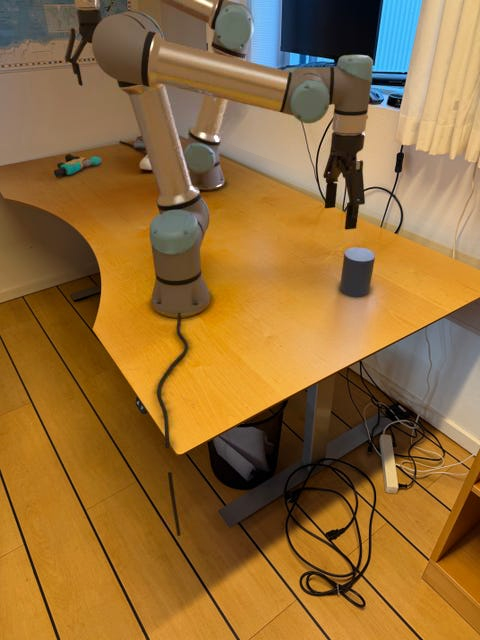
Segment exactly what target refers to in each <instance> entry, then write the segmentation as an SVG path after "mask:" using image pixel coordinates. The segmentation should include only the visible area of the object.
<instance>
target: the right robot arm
mask: <svg viewBox="0 0 480 640" xmlns="http://www.w3.org/2000/svg"><path fill="white" fill-rule="evenodd" d="M157 1H158V2H161V3H163V4H165V5H167V6H169V7H170V8H174V9H175V10H178V11H180V12H182V13H184V14H186V15H188V16H191V17H193V18H195V19H197V20H199V21H201V22H204V23H206V24H207V25H208V27H209V29H211V30H213V31H214V33H213V37H212V41H211V44H210V47H211V50H212V53H215V54H219V55H224V56H228V57H232V58H236V59H240V60H244V61H245V59H246V56H247V54H248V49H249V46H250V43H251V40H252V38H253V35H254V31H255V21H254V16H253V14H252V12H251V10H250V9H249V8H248V7H247V6H246V5H244V4H242V3H239V2H235V1H231V0H157ZM74 5H75V8H76V9H77V10H76V16H77V22H78V28H73V27H69V39H68V42H67V46H66V47H67V48H66V51H65V56H64V61H65V62H67V63H70V64H71V68H72V73H73V74H74V75H76V77H77V83H78V85H79V86H84V85H83V80H82V74H81V68H80V64H79V62H78V60H79V58H80V56H81V54H82V53H83V50H84V48H85V46H86V45H87V44H92V38H93V34H94V31H95V29H96V27H97V25H98V24H99V23H100V22H101V21H102V20H103V14H102V10H101V9H99V8H101V4H100V0H74ZM78 35H80V36H81V39H80V40H79V43H78V46H76V49H75V50H74V46H75V42H76V37H77V36H78ZM73 50H74V53H73ZM72 54H73V55H72ZM202 95H203V96H202V99H201V103H200V107H199V111H198V116H197V118H196V123H195V125H192V126H190V127H189V128H187V129H188V130H187V131H188V132H187V136H188V137H187V141H186V145H185V147H184V149H183V154H184V158H185V161H186V165H187V169H188V173H189V176H190V180H191V184H192V185H193V186H195V187H197V188H198V189H199V191H200V192H211V191H216V190H220V189H222V188H223V187H225V185H226V181H225V176H224V174H223V171H222V168H221V164H220V146H221V142H222V137H221V135H220V130H221V127H222V124H223V120H224V117H225V113H226V110H227V107H228V102H229V100H227V99H222V98H218V97H214V96H210V95H205V94H202ZM119 144H124V145H127V146H129V147H132V148H134V146H133V145H134V144H131V143H129V142H127V141H122V140H119ZM136 150H138V151H140V152H141V153H142V154H144V155H145V156H146V155H147V152H146V151H145V150H144V149H140V148H137V149H136Z"/></svg>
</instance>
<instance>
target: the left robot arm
mask: <svg viewBox="0 0 480 640" xmlns="http://www.w3.org/2000/svg"><path fill="white" fill-rule="evenodd" d="M91 48H92V53H93V57H94V59H95V62H96V63H97V65H98V66H99V68H100V69H101V70H102V71H103V73H105V74H106V75H107V76H108V77H110V78H112V79H114V80H116V83H117V86H118V88H119V89H120V90H121V91H122V92H124V93H126V94H127V95H128V97H129V101H130V105H131V107H132V110H133V113H134V116H135V120H136V123H137V126H138V129H139V133H140V136H142V139H143V142H144V145H145V148H146V149H145V152H146V153H147V155H148V158H149V161H150V164H151V168H152V170H151V171H152V174H153V177H154V180H155V183H156V186H157V189H158V193H159V194H158V196H157V198H156V200H155V203H156V206H157V209H158V212H159V213H158V214H157V215H156V216H154V218H153V219H151V221H150V224H149V234H148V235H149V236H148V237H149V241H150V245H151V253H152V260H153V261H152V262H153V268H154V274H155V275H154V276H155V281H154V284H153V290H152V294H151V305H152V308H153V310H154V311H155V312H156V313H157V314H159V315H160V316H163V317H167V318H171V319H177V321H176V322H177V323H176V334H177V336H178V337H179V338H180V340H181V341H182V343H183V344H184V348H183V351H182V352H181V354H179V356H178V357H177V358H175V359H174V360H173V362H171V364H170V365H169V366H168V368H167V369H166V371H165V373H164V374H163V375H162V377H161V378H160V380H159V382H158V385H157V389H156V390H157V391H156V397H157V400H158V403H159V406H160V408H161V411H162V414H163V421H164V442H165V448H166V449H170V445H171V444H170V433H169V431H170V428H169V417H168V416H169V415H168V411H167V408H166V405H165V403H164V401H163V398H162V393H161V392H162V388H163V387H162V386H163V384H164V382H165V380H166V379H167V377H168V376H169V374H170V373H171V371H172V370H173V368H174V367H175V366H176V365H177V364H178V363H179V362H180V361H181V360H182V359H183V358H184V357H185V356H186V354H187V352H188V348H189V344H188V341H187V339H186V338H185V337H184V336H183V334H182V333H181V320H182V319H183V318H185V319H186V318H190V317H194V316H196V315H199V314H201V313H202V312H204V311H205V310H207V308H208V307H209V306H210V303H211V294H210V290H209V288H208V286H207V284H206V281H205V278H204V277H203V275H202V262H201V261H202V259H201V247H202V244H203V240H204V238H205V235H206V232H207V230H208V227H209V224H210V210H209V206H208V205H207V203H206V201H205V200H204V199H203V197H202V196H201V191H199V189H198V188H197V187H195V186H193V185H192V184H191V180H190V176H189V169H188V168H187V165H186V161H185V158H184V154H183V152H184V149H183V147H182V143H181V140H180V135H179V133H178V129H177V125H176V122H175V121H176V120H175V117H174V113H173V110H172V106H171V102H170V100H169V99H170V98H169V96H168V91H167V88H166V86H167V87H171V88H176V89H179V90H184V91H189V92H192V93H196V94H197V93H198V94H201V95H204V94H205V95H210V96H214V97H218V98H222V99H227V100H228V101H231V102H234V103H239V104H244V105H247V106H253V107H257V108H261V109H265V110H269V111H274V112H277V113H282V114H284V115H289V116H291V117H292V116H293V117H294V118H295V119H296V120H298V121H299V122H301V123H304V124H308V125H309V124H314V123H317V122H319V121H320V120H322V119H323V118H324V117H325V115H326V114H327V112H328V110H329V108H330V106H331V105H334V107H333V115H332V127H331V129H332V131H333V132H332V133H331V140H330V150H329V155H328V159H327V161H326V165H325V169H324V172H323V175H322V176H323V178H324V179H325V183H326V188H325V198H324V209H334V208H336V201H337V192H338V182H339V177H340V175H341V176H342V178H343V179H344V180H345V181H344V182H345V184H346V191H347V197H348V202H347V203H346V211H345V212H346V213H345V223H344V230H346V231H347V230H348V231H349V230H356V229H357V224H358V218H359V217H358V216H359V209H360V206H362V205H365V203H366V199H365V198H366V197H365V184H364V171H363V170H364V160H362V159H361V160H359V159H358V155H357V154H358V153H359V152H361V151H362V150H363V149H364V146H365V145H364V144H365V136H366V134H365V131H366V126H367V120H368V119H369V116H368V111H369V106H370V105H369V103H370V96H371V91H372V90H371V89H372V83H373V70H374V69H373V67H374V60H373V59H372V58H371V57H370V56H369V55H364V54H348V55H347V54H345V55H342V56H340V57H339V58H338V60H337V64H336V66H330V67H329V66H328V67H327V66H324V67H321V66H320V67H319V66H318V67H317V66H316V67H315V66H314V67H313V66H311V67H310V66H309V67H307V66H305V67H303V66H295V67H287V68H284V69H280V68H275V67H272V66H268V65H264V64H259V63H256V62H252V61H248V60H245V59H244V60H240V59H236V58H232V57H228V56H224V55H219V54H215V53H214V52H210V51H207V50H203V49H199V48H196V47H195V48H194V47H190V46H187V45H183V44H178V43H174V42H170V41H167V40H165V36H164V33H163V30H162V28H161V26H159V24H158V23H157V21H156V20H155V19H154V18H153V17H151V16H150V15H148V14H147V13H144V12H142V11H138V10H124V11H123V12H120V13H117V14H111V15H108V16H106V17H104V18H102V21H101V22H100V23H99V24H98V25H97V27H96V29H95V31H94V34H93V38H92V43H91ZM167 477H168V485H169V493H170V500H171V506H172V512H173V518H174V524H175V530H176V536H177V537H180V536H181V528H180V521H179V516H178V509H177V503H176V495H175V489H174V481H173V480H174V479H173V472H169V471H168V472H167Z"/></svg>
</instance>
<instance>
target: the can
mask: <svg viewBox="0 0 480 640" xmlns="http://www.w3.org/2000/svg"><path fill="white" fill-rule="evenodd" d="M343 253H344V254H343V261H342V267H341V275H340V277H341V278H340V284H339V290H340V292H341V293H342V294H343V295H345V296H347V297H353V298H361V297H362V298H363V297H365V296H367V295H368V294H369V293H370V287H371V283H372V279H373V278H372V277H373V272H374V265H375V260H376V253H374V251H373V250H370V249H369V248H365V247H360V246H359V247H358V246H355V247H349V248H347V249H346V250H345V251H344V252H343Z"/></svg>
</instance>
